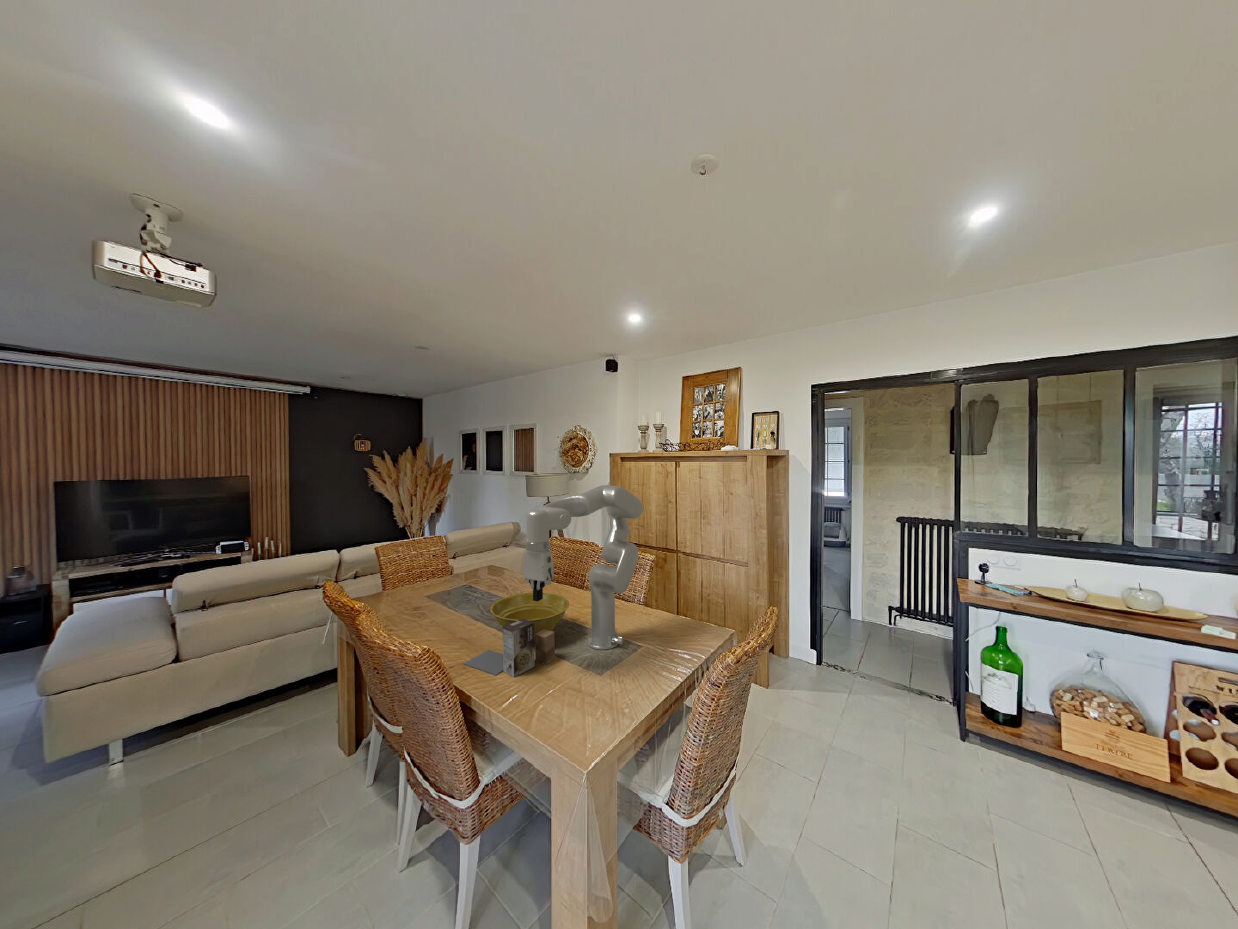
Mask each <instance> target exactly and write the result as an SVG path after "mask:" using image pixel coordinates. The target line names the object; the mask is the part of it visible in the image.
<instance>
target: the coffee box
mask: <svg viewBox="0 0 1238 929" xmlns="http://www.w3.org/2000/svg"><path fill="white" fill-rule="evenodd" d="M502 652H503V653H502V654H503V668H504V671H503V672H504V673H506V674H507V675H509V676H511V677H513V678H515V677H517V676H519V675H521V674H523V673H525V672H527V671H528V670H531V669H533V668H535V667H536V666H535V643H534V623H533V622H530V621H529V620H526V619H520V620H518V621H515V622H513V623H510V624H508V625H505V626H502Z"/></svg>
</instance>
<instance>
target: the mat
mask: <svg viewBox="0 0 1238 929" xmlns="http://www.w3.org/2000/svg"><path fill="white" fill-rule="evenodd" d="M463 665H464V666H466V667H470V668H473V669H475V670H478V671H480V672H481V671H482V672H483V673H487V674H490V675H493V676H498V675H499V674H501V673H503V672H504V668H503V653H501V652H498V651H494V650H491V649H487V650H485V651H483V652H481V653H480V654H478V655H476V656H474V657H473V658H471V659H469V660H468V661H467V660H466V662H464V663H463Z"/></svg>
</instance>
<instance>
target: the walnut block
mask: <svg viewBox="0 0 1238 929" xmlns="http://www.w3.org/2000/svg"><path fill="white" fill-rule="evenodd" d="M555 644H556V643H555V631H548V630H542V631H540V632H538V633H537V634H535V643H534V663H540V664H543V665H548V664H550V663H551V662H552V661H554V660H555V653H556V652H555V651H556V648H555Z"/></svg>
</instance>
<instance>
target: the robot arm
mask: <svg viewBox="0 0 1238 929" xmlns="http://www.w3.org/2000/svg"><path fill="white" fill-rule="evenodd" d="M603 508H605V509H606V512H607V515H608V517H609V523H610V524H609V525H610V526H609V529H608V533H607V536H606V537H605V541H604V543H603V547H602V549H601V553H600V554H601V558H602V559H603V561H605V562H608V563H609V564H604V563H597V564H594V565H593V566H592V567H591V568H590V570H589V572H588V583H589V588H590V598H591V600H590V601H591V602H590V603H591V604H590V605H591V607H590V608H591V611H590V613H591V620H590V621H591V636H589V638H588V639H587V645H588V647H590V648H592V649H595V650H600V651H601V650H604V651H605V650H610V649H613V648H616V647H617V646H618V645H623V643H624V636H621V635H618V631H617V630H616V599H615V598H616V597H615V594H623V593H624V592H626V591H627V590H628V588H629V586H630V583H631V581H632V578H633V576H634V573H635V571H636V570H635V569H636V567H637V564H638V561H639V550H638V547H637V546H636V544H634V543H633V542H631V541H630V542H629V541H628V539H629V537H630V536H629V535H630V531H631V530H630V525H629V521H628V519H631V520H635V519H638V518H640V517H641V516H642V515H643V511H644V505H643V503H642V501H641V500H640V499H639V498H638V497H637V496H635V495H634V494H633V493H631V492H630V491H629V490H627V489H626V488H625V487H622V486H619V485H608V484H603V485H598V486H596V487H594V488H592V489H589V490H587V491H585V492H582V493H580V494H578V495H577V494H576V495H573V496H572V495H571V496H569V497H565V498H562V499H561V498H560V499H556V500H554V501H551V502H548V503H547V504H543V505H542V506H541V507H539V508H538V509H532V510H528V511H527V513H526V549H525V552H524V556H523V564H522V565H523V567H522V569H523V570H522V572H523V577H524V580H525V582H527V583H529V585H530V587H531V589H532V593H533V601H540V600H542V599H543V593H544V591H543V590H544V588H545V587H546V586H549V585H551V584H552V579H554V577H555V576H554V575H555V573H554V568H555V567H554V560H553V553H552V551H551V550H550V549H551V548H552V544H550V531H553V530H554V531H555V530H556V531H561V530H564V529H566V528H568V527H569V526H570V524H571V522H572V518H578V517H586V516H589V515H591V514H593V513H595V512H597V511H599V510H601V509H603ZM610 564H613V565H616V566H613V565H610Z"/></svg>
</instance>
